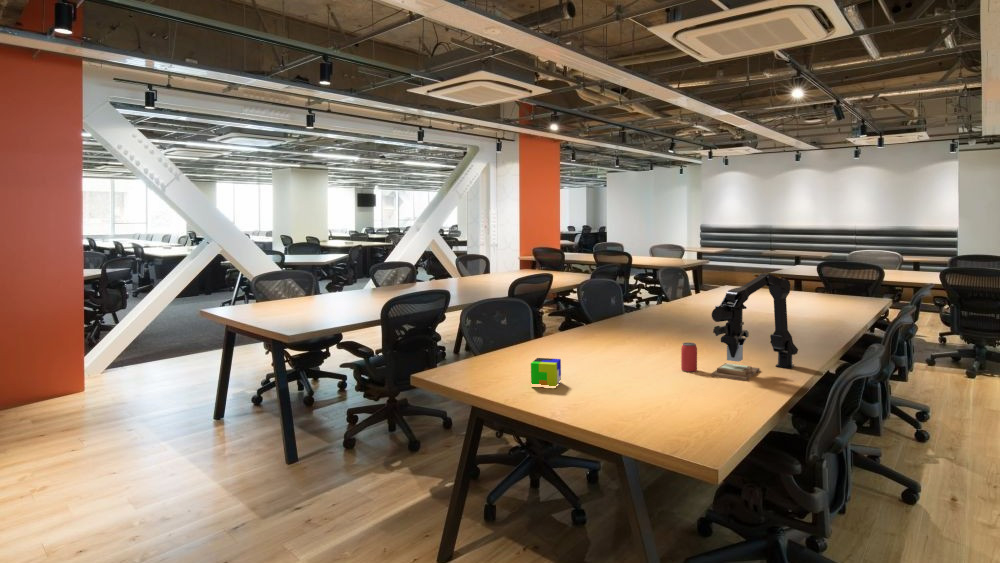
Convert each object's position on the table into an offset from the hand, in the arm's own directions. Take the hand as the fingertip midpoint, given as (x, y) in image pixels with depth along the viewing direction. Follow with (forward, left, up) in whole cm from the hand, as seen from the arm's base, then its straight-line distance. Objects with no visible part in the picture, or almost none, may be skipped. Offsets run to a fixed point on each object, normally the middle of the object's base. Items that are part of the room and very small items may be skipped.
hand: (734, 356), depth 241 cm
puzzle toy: (+58, -57, -8) cm, 82 cm away
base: (-2, 0, -8) cm, 8 cm away
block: (0, 0, -2) cm, 2 cm away
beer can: (+4, -18, -8) cm, 20 cm away
